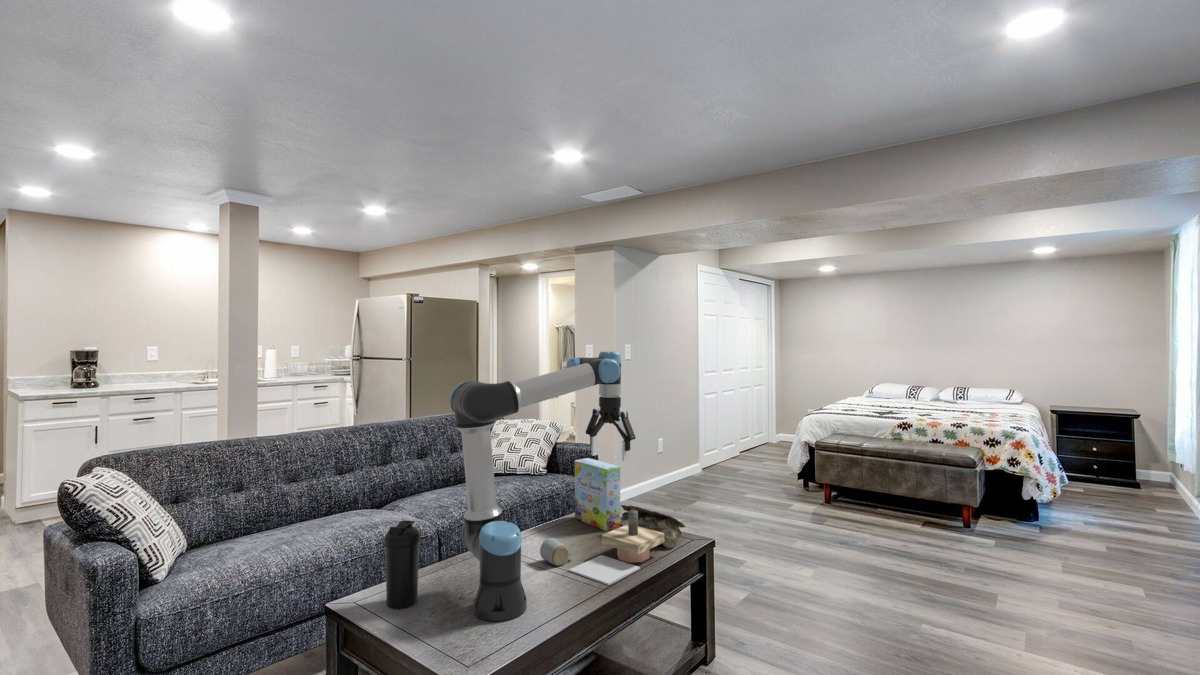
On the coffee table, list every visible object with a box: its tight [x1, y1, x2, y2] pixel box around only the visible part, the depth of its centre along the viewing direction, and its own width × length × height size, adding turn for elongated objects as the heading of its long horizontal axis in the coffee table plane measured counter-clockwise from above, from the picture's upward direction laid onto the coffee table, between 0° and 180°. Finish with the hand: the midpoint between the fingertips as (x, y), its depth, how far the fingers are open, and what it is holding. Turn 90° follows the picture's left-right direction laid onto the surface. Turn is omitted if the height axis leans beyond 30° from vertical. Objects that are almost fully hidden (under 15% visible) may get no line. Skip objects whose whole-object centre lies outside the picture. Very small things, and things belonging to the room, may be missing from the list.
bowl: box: [616, 548, 651, 564], centre depth 204 cm, size 11×11×7 cm
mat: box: [568, 554, 641, 586], centre depth 192 cm, size 17×17×1 cm
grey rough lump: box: [620, 504, 686, 549], centre depth 221 cm, size 28×13×15 cm
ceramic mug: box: [539, 537, 573, 567], centre depth 199 cm, size 11×8×8 cm
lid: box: [601, 510, 664, 555], centre depth 204 cm, size 16×16×11 cm
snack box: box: [574, 457, 621, 532], centre depth 241 cm, size 22×9×26 cm, turn 41°
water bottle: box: [383, 520, 422, 610], centre depth 167 cm, size 10×10×23 cm
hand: (609, 457), depth 197 cm, fingers open, 13 cm apart
